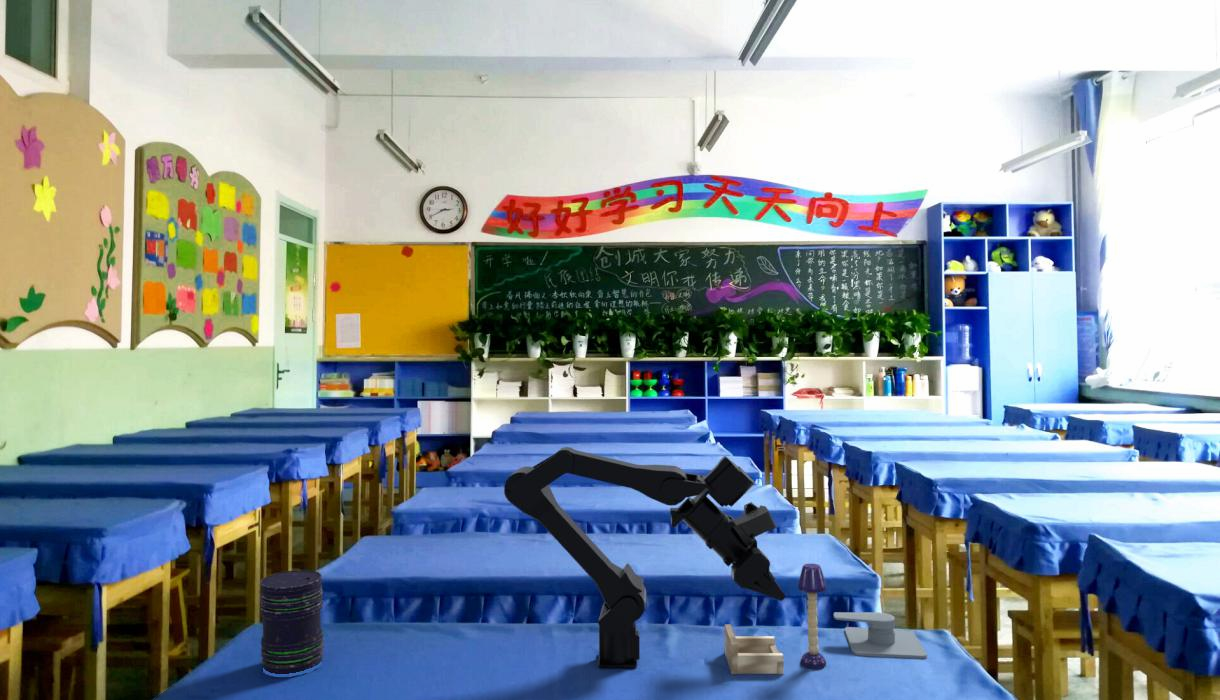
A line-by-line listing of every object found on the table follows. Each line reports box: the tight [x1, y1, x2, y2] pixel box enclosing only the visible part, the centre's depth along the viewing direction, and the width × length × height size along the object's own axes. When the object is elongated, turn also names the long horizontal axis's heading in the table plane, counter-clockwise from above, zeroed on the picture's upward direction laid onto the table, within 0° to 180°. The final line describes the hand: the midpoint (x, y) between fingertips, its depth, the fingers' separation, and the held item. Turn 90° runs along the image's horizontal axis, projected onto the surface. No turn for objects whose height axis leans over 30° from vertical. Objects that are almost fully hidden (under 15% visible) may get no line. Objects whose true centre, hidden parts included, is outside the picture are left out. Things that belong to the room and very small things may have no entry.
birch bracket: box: [724, 623, 785, 675], centre depth 141 cm, size 8×9×5 cm
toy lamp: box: [797, 563, 827, 670], centre depth 141 cm, size 5×5×17 cm
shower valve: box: [833, 611, 928, 660], centre depth 150 cm, size 12×6×15 cm
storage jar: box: [259, 569, 324, 674], centre depth 141 cm, size 10×10×15 cm
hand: (778, 589), depth 141 cm, fingers open, 9 cm apart
